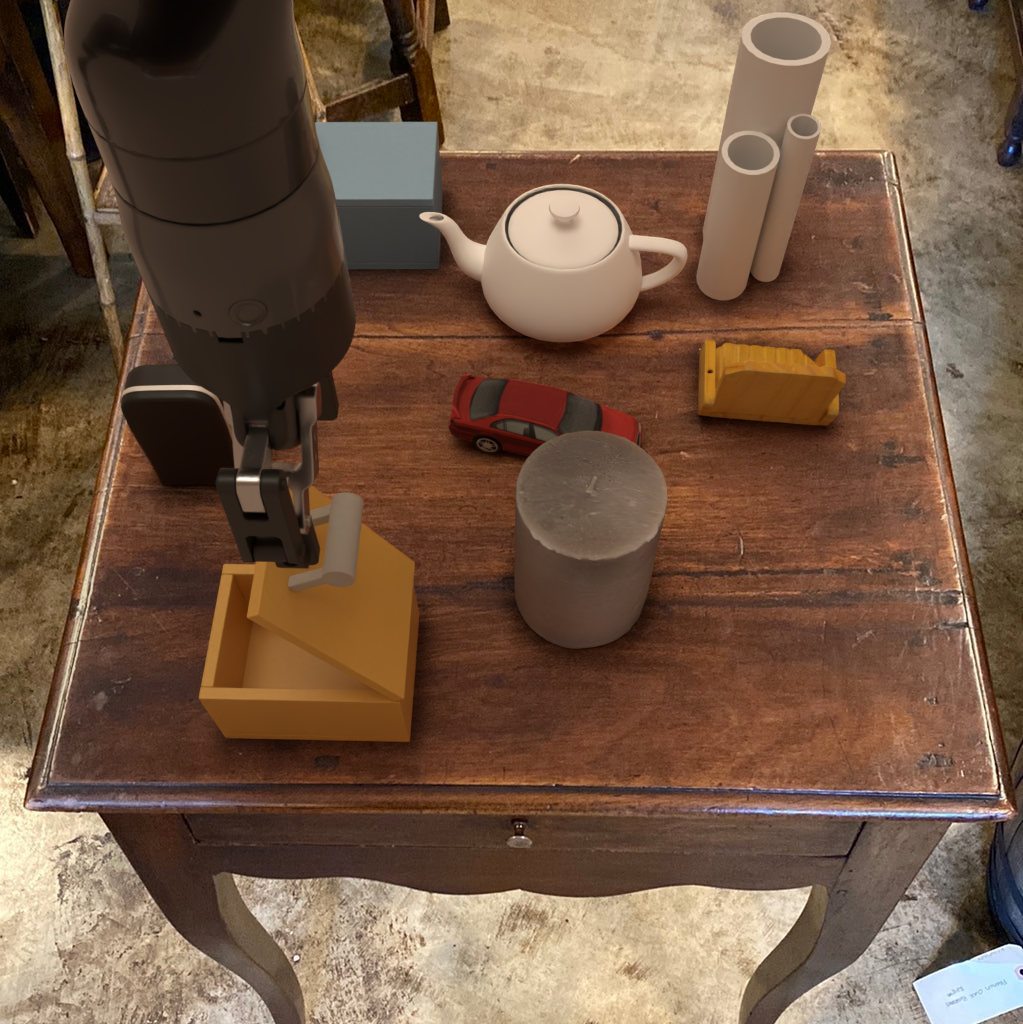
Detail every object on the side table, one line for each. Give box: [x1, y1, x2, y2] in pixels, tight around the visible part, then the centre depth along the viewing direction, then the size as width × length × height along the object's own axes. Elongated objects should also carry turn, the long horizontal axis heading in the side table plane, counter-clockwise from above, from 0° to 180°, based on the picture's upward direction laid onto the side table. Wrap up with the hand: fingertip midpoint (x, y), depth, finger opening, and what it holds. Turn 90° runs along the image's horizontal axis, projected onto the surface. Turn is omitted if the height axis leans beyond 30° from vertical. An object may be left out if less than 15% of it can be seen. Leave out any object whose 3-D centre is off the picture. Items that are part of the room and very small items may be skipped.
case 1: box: [198, 563, 420, 743], centre depth 72 cm, size 13×10×7 cm
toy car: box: [448, 373, 643, 457], centre depth 84 cm, size 6×15×5 cm, turn 71°
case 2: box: [337, 135, 444, 270], centre depth 95 cm, size 13×10×7 cm
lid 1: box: [315, 121, 439, 206], centre depth 90 cm, size 13×10×5 cm
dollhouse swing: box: [697, 339, 847, 427], centre depth 84 cm, size 10×10×9 cm
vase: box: [695, 11, 832, 301], centre depth 88 cm, size 11×7×20 cm, turn 170°
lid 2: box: [247, 485, 416, 701], centre depth 63 cm, size 13×10×5 cm
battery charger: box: [119, 363, 234, 486], centre depth 80 cm, size 7×4×11 cm, turn 91°
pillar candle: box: [513, 431, 669, 650], centre depth 72 cm, size 10×10×15 cm
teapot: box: [419, 183, 688, 343], centre depth 89 cm, size 22×14×11 cm, turn 84°
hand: (308, 484), depth 54 cm, fingers open, 8 cm apart
